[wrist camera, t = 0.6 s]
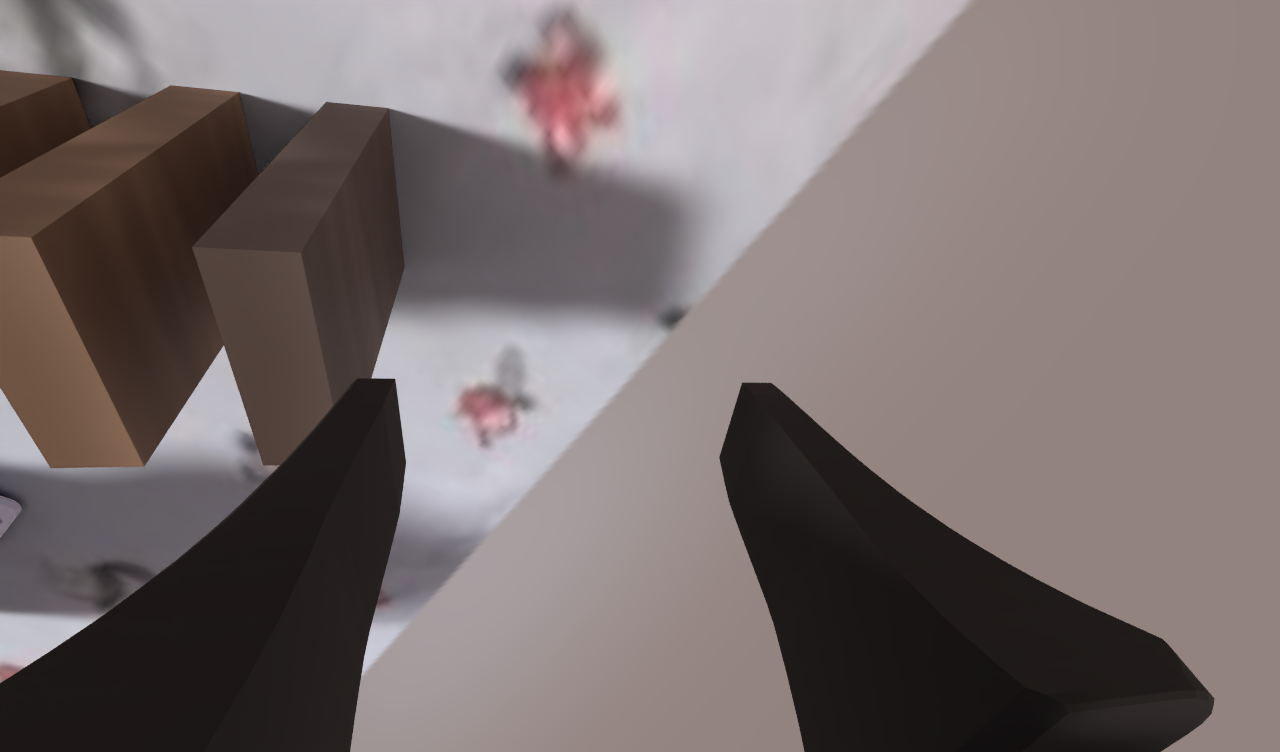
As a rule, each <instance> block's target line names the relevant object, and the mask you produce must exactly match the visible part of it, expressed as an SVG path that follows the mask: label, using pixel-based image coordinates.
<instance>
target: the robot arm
mask: <svg viewBox="0 0 1280 752" xmlns="http://www.w3.org/2000/svg"><path fill="white" fill-rule="evenodd" d="M720 462H721V467H722V472H723V476H724V482H725V486H726V490H727V494H728V498H729V502H730V505H731V508H732V511H733V514H734V517H735V519H736V522H737V525H738V528H739V530H740V533H741V536H742V539H743V541H744V544H745V546H746V549H747V551H748V554H749V557H750V559H751V562H752V565H753V567H754V570H755V573H756V575H757V578H758V581H759V583H760V586H761V589H762V592H763V594H764V597H765V600H766V602H767V605H768V608H769V611H770V614H771V617H772V620H773V623H774V627H775V630H776V634H777V638H778V642H779V645H780V649H781V653H782V657H783V661H784V665H785V669H786V672H787V676H788V680H789V685H790V689H791V693H792V698H793V701H794V706H795V710H796V714H797V718H798V723H799V727H800V732H801V736H802V742H803V746H804V751H805V752H1161V751H1162V750H1164V749H1165V748H1167V747H1169V746H1170V745H1171V744H1173V743H1174V742H1176V741H1178V740H1179V739H1181V738H1182V737H1184V736H1185V735H1187V734H1189V733H1190V732H1191V731H1193V730H1194V729H1195V728H1197V727H1198V726H1199V725H1201V724H1202V723H1203V722H1204V721H1205V720H1206V719H1207V718H1208V717H1209V716H1210V715H1211V713H1212V709H1213V705H1214V698H1213V697H1212V695H1211V694H1210V693H1209V692H1208V691H1207V690H1206V688H1205V687H1204V686H1203V685H1202V684H1201V682H1200V681H1199V680H1198V679H1197V678H1196V677H1195V675H1194V674H1193V673H1192V672H1191V671H1190V670H1189V668H1188V667H1187V666H1186V665H1185V664H1184V663H1183V661H1182V660H1181V659H1180V658H1179V657H1178V655H1177V654H1176V653H1175V652H1174V651H1173V650H1172V648H1170V646H1169V645H1168V644H1167V643H1166V642H1165V641H1164V640H1163V639H1161V638H1159V637H1157V636H1154V635H1152V634H1150V633H1148V632H1146V631H1144V630H1141V629H1139V628H1137V627H1135V626H1132V625H1130V624H1128V623H1126V622H1123V621H1122V620H1119V619H1117V618H1115V617H1113V616H1110V615H1108V614H1106V613H1104V612H1102V611H1099V610H1097V609H1095V608H1093V607H1091V606H1088V605H1086V604H1084V603H1082V602H1080V601H1078V600H1076V599H1074V598H1072V597H1070V596H1068V595H1066V594H1064V593H1062V592H1060V591H1058V590H1056V589H1055V588H1053V587H1051V586H1049V585H1047V584H1045V583H1043V582H1041V581H1039V580H1037V579H1035V578H1033V577H1031V576H1030V575H1028V574H1026V573H1024V572H1022V571H1021V570H1019V569H1017V568H1015V567H1013V566H1012V565H1010V564H1008V563H1006V562H1005V561H1003V560H1001V559H1000V558H998V557H996V556H994V555H993V554H991V553H989V552H988V551H986V550H984V549H983V548H981V547H979V546H978V545H976V544H974V543H973V542H971V541H969V540H968V539H966V538H965V537H963V536H962V535H960V534H958V533H957V532H955V531H953V530H952V529H950V528H949V527H947V526H946V525H945V524H943V523H942V522H940V521H939V520H937V519H936V518H934V517H933V516H931V515H930V514H929V513H927V512H926V511H924V510H923V509H921V508H919V507H918V506H917V505H915V504H914V503H913V502H911V501H910V500H909V499H907V498H906V497H905V496H903V495H902V494H901V493H899V492H898V491H896V490H895V489H894V488H893V487H892V486H890V485H889V484H888V483H886V482H885V481H884V480H883V479H881V478H880V477H879V476H878V475H876V474H875V473H874V472H873V471H871V470H870V469H869V468H868V467H867V466H865V465H864V464H863V463H862V462H861V461H859V460H858V459H857V458H856V457H855V456H853V455H852V454H851V453H850V452H849V451H848V450H846V449H845V448H844V447H843V446H842V445H841V444H839V443H838V442H837V441H836V440H835V439H834V438H833V437H831V435H829V434H828V433H827V432H826V431H825V430H824V429H823V428H821V427H820V426H819V425H818V424H817V423H816V422H815V421H814V420H813V419H812V418H810V417H809V416H808V415H807V414H806V413H805V412H804V411H803V410H802V409H800V408H799V407H798V406H797V405H796V404H795V403H794V402H793V401H792V400H791V399H790V398H789V397H787V396H786V395H785V394H784V393H783V392H781V391H780V390H779V389H778V388H777V387H776V386H774V385H773V384H772V383H742V385H741V389H740V392H739V395H738V398H737V402H736V405H735V408H734V412H733V415H732V418H731V421H730V425H729V428H728V431H727V434H726V438H725V441H724V444H723V447H722V451H721V454H720ZM405 466H406V460H405V452H404V444H403V436H402V428H401V421H400V413H399V405H398V397H397V389H396V382H395V379H368V378H357V379H356V380H355V381H354V382H353V383H351V385H350V386H349V387H348V388H347V390H346V391H345V392H344V393H343V395H342V396H341V397H340V398H339V399H338V401H337V402H336V403H335V404H334V405H333V407H332V408H331V409H330V410H329V411H328V413H327V414H326V415H325V416H324V417H323V419H322V420H321V421H320V422H319V423H318V424H317V425H316V427H315V428H314V429H313V430H312V431H311V432H310V433H309V435H308V436H307V437H306V438H305V439H304V440H303V441H302V442H301V443H300V444H299V445H298V447H297V448H296V449H295V450H294V451H293V452H292V453H291V454H290V455H289V456H288V457H287V459H286V460H285V461H284V462H283V463H282V464H281V465H280V466H279V467H278V468H277V469H276V470H275V471H274V472H273V473H272V474H271V475H270V476H269V477H268V478H267V479H266V480H265V481H264V482H263V483H262V484H261V485H260V486H259V487H258V488H257V489H256V490H255V491H254V492H253V493H252V494H251V495H250V496H249V497H248V498H247V499H246V500H245V501H244V502H243V503H242V504H241V505H239V506H238V507H237V508H236V509H235V510H234V511H233V512H232V513H231V514H230V515H229V516H227V517H226V518H225V519H224V520H223V521H222V522H221V523H220V524H219V525H217V526H216V527H215V528H214V529H213V530H212V531H211V532H209V533H208V534H207V535H206V536H205V537H204V538H202V539H201V540H200V541H199V542H198V543H197V544H195V545H194V546H193V547H192V548H191V549H189V550H188V551H187V552H186V553H185V554H183V555H182V556H181V557H180V558H178V559H177V560H176V561H175V562H173V563H172V564H171V565H170V566H168V567H167V568H166V569H164V570H163V571H162V572H161V573H159V574H158V575H157V576H155V577H154V578H153V579H151V580H150V581H149V582H148V583H146V584H145V585H144V586H142V587H141V588H140V589H138V590H137V591H136V592H134V593H133V594H132V595H130V596H129V597H127V598H126V599H125V600H123V601H122V602H121V603H119V604H118V605H117V606H115V607H114V608H113V609H111V610H110V611H109V612H107V613H106V614H105V615H103V616H102V617H100V618H99V619H97V620H96V621H94V622H93V623H92V624H90V625H89V626H87V627H86V628H84V629H83V630H81V631H80V632H78V633H77V634H75V635H74V636H72V637H71V638H69V639H68V640H66V641H65V642H63V643H62V644H60V645H59V646H57V647H56V648H54V649H53V650H51V651H50V652H48V653H47V654H45V655H44V656H42V657H41V658H39V659H37V660H36V661H34V662H33V663H31V664H30V665H28V666H27V667H25V668H24V669H22V670H20V671H19V672H17V673H16V674H14V675H13V676H11V677H10V678H8V679H6V680H5V681H3V682H1V683H0V752H350V747H351V740H352V733H353V725H354V718H355V712H356V705H357V699H358V693H359V686H360V680H361V673H362V667H363V660H364V655H365V650H366V645H367V641H368V636H369V631H370V627H371V624H372V620H373V616H374V612H375V608H376V604H377V600H378V596H379V593H380V589H381V585H382V581H383V577H384V573H385V569H386V565H387V562H388V558H389V554H390V550H391V546H392V542H393V538H394V534H395V530H396V526H397V522H398V518H399V513H400V506H401V499H402V491H403V483H404V474H405ZM21 509H22V508H21V506H20V504H19V503H17V502H16V501H14V500H12V499H10V498H7V497H4V496H1V495H0V538H1V536H2V535H3V534H4V532H5V531H6V530H7V529H8V527H9V526H10V525H11V523H12V522H13V521H14V520H15V518H16V517H17V516H18V514H19V513H20V512H21Z"/></svg>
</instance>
